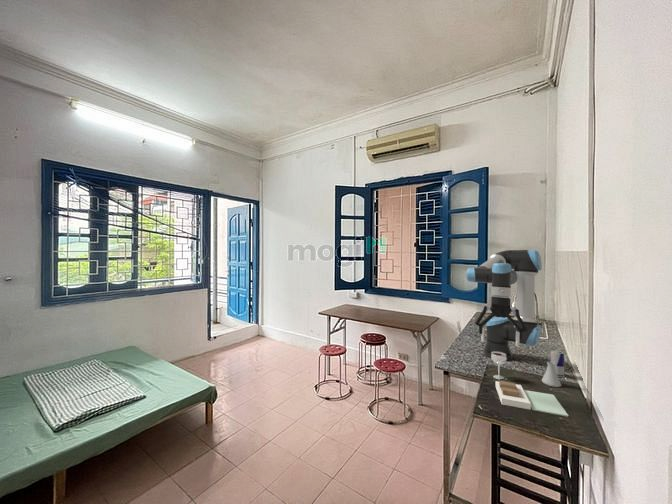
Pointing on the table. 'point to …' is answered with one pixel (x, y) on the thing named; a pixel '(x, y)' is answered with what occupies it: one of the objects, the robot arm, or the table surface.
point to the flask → (551, 376)
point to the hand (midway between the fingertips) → (499, 344)
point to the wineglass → (498, 361)
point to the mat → (545, 403)
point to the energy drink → (558, 362)
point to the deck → (514, 398)
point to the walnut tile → (509, 389)
